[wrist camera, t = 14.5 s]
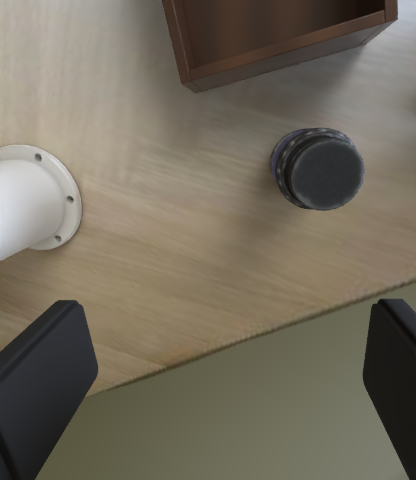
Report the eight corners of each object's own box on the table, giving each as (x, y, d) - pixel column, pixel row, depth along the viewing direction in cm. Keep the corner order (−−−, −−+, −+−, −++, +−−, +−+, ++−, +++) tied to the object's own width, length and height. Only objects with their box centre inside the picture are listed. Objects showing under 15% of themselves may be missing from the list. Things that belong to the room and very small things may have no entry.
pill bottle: (273, 195, 31) (283, 227, 21) (266, 136, 29) (273, 137, 19) (335, 185, 30) (377, 213, 19) (331, 122, 28) (376, 117, 18)
